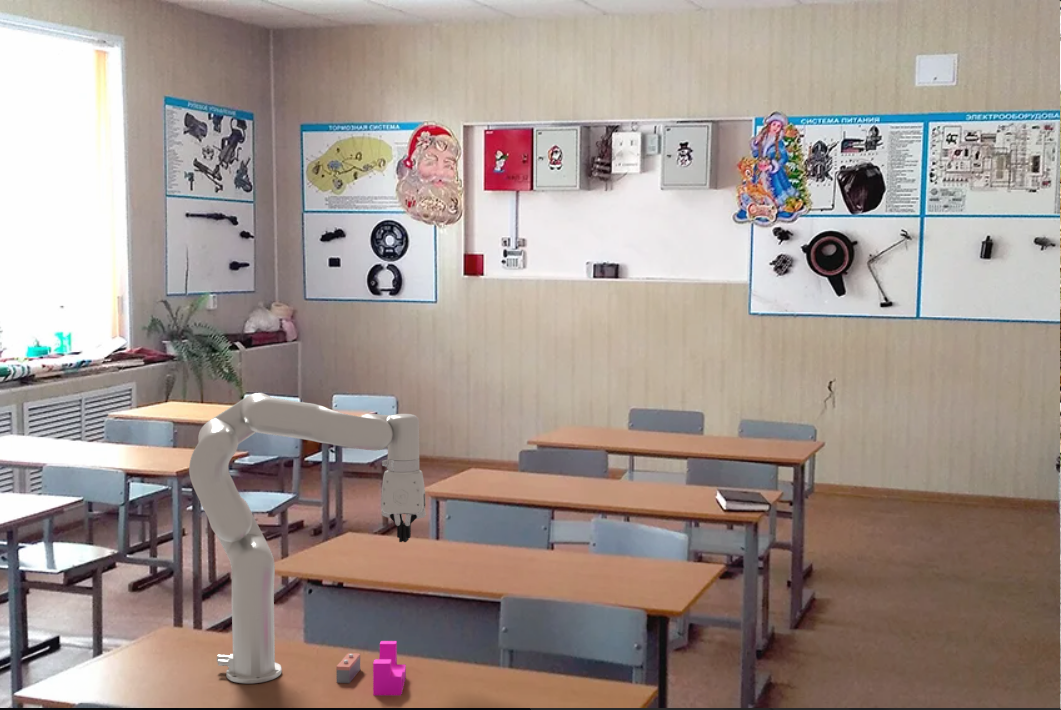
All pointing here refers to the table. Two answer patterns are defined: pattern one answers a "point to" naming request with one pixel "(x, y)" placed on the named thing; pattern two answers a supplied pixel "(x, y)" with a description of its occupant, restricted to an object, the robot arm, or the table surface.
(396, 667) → the magenta curved block
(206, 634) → the table surface
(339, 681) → the block
